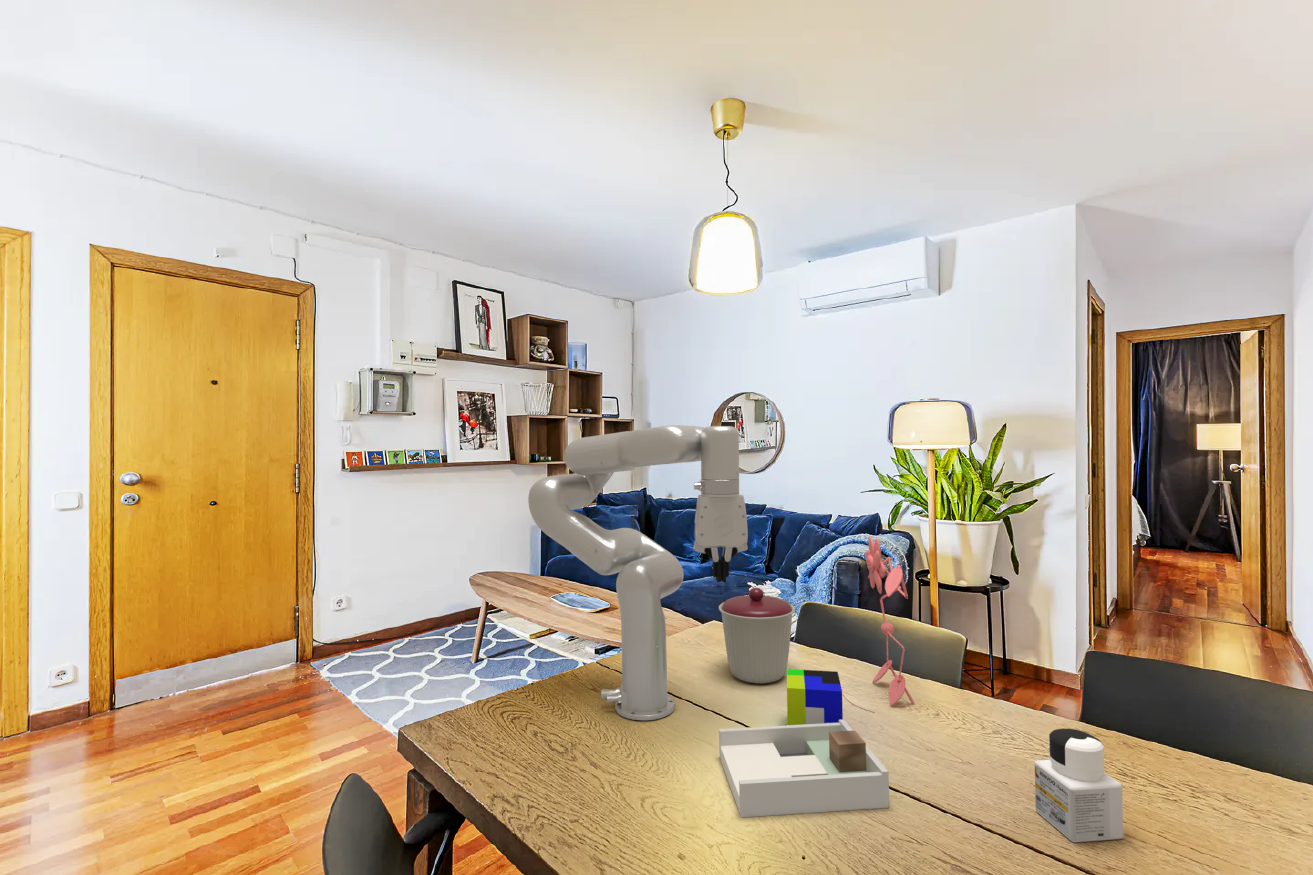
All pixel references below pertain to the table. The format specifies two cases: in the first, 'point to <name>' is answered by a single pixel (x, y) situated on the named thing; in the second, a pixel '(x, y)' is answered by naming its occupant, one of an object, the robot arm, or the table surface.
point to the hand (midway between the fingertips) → (720, 580)
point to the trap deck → (796, 772)
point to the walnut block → (847, 751)
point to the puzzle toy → (813, 697)
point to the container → (1078, 789)
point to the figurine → (887, 628)
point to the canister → (757, 636)
